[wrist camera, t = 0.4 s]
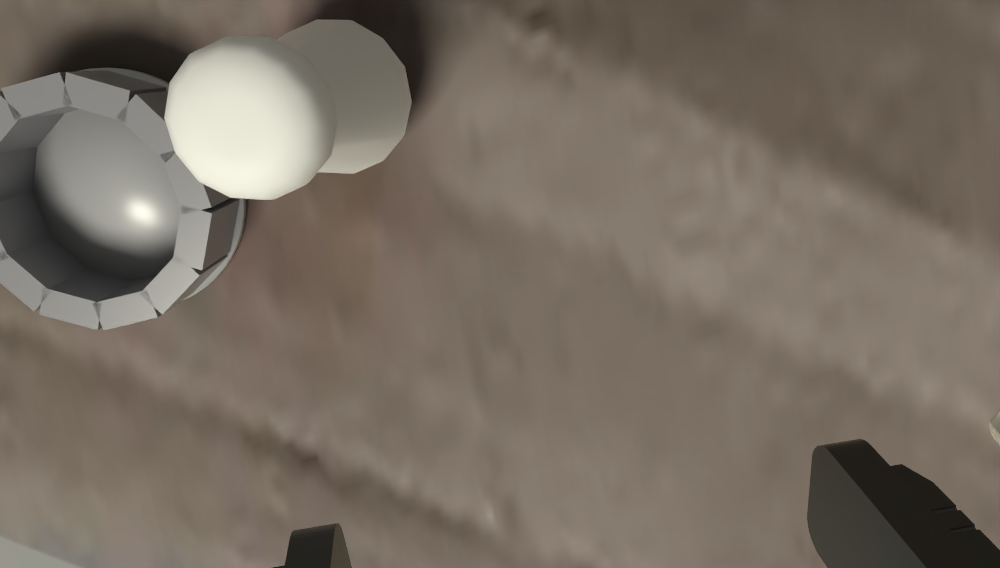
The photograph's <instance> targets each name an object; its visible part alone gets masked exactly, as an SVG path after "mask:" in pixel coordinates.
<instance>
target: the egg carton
mask: <svg viewBox="0 0 1000 568" xmlns="http://www.w3.org/2000/svg"><path fill="white" fill-rule="evenodd" d="M989 429H990V431H991V433H992V435H993V437H994V439H995V440H996V441H997V442H998V444H999V446H1000V411H999V412H998V414H997V416H996V417H995V418H994V419H992V420H991V421H990V423H989Z"/></svg>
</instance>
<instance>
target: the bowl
mask: <svg viewBox="0 0 1000 568" xmlns="http://www.w3.org/2000/svg"><path fill="white" fill-rule="evenodd" d="M1 89H2V91H0V283H1V284H2V285H3V286H5V287H6V288H7V289H8V290H9V291H11V292H12V293H13V294H14V295H15V296H16V297H18V298H19V299H20V300H21V301H22V302H24V303H25V304H26V305H27V306H28V307H29V308H31V309H32V310H33V311H36V310H38V309H40V315H44V316H47V317H51V318H55V319H59V320H62V321H66V322H70V323H73V324H77V325H81V326H84V327H88V328H92V329H96V330H99V329H100V328H103V330H107V329H111V328H115V327H119V326H124V325H128V324H132V323H136V322H140V321H144V320H149V319H153V318H157V317H159V316H160V315H163V314H164V313H166V312H167V311H168V310H170V309H171V308H172V307H174V306H175V305H177V304H178V303H179V302H181V301H183V300H185V299H187V298H189V297H191V296H193V295H195V294H196V293H198V292H199V291H201V290H202V289H204V288H205V287H206V286H208V285H209V284H210V283H211V282H212V281H214V280H215V279H216V278H217V277H218V276H219V275H220V274H221V273H222V271H223V270H224V269H225V268H226V267H227V265H228V264H229V262H230V261H231V259H232V257H233V256H234V254H235V252H236V250H237V248H238V245H239V243H240V241H241V238H242V234H243V230H244V226H245V219H246V210H247V206H246V199H244V198H230V197H228V196H226V195H224V194H222V193H220V192H218V191H216V190H214V189H212V188H210V187H208V186H206V185H204V184H202V183H200V182H199V181H198V180H197V179H196V178H195V177H194V175H193V174H192V173H191V172H190V170H189V169H188V168H187V167H186V166H185V164H184V163H183V162H182V161H181V159H180V158H179V157H178V156H177V155H176V153H175V151H174V147H173V144H172V141H171V138H170V135H169V131H168V128H167V125H166V122H165V119H164V116H165V110H166V103H167V96H168V90H169V82H167V81H165V80H163V79H161V78H158V77H155V76H152V75H150V74H147V73H144V72H139V71H135V70H130V69H122V68H92V69H85V70H80V71H75V72H58V73H55V74H51V75H47V76H44V77H40V78H37V79H33V80H29V81H26V82H22V83H19V84H15V85H11V86H8V87H4V88H1Z"/></svg>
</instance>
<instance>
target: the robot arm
mask: <svg viewBox="0 0 1000 568" xmlns="http://www.w3.org/2000/svg"><path fill="white" fill-rule="evenodd" d="M807 520H808V528H809V532H810V536H811V539H812V542H813V544H814V546H815V549H816V550H817V552H818V554H819V556H820V557H821V559H822V560H823V562H824V563H825V564H826V566H827V567H828V568H1000V550H999V549H998V548H997V547H996V546H995V545H994V544H993V543H992V542H991V541H990V540H989V539H988V538H987V537H986V536H985V535H984V534H983V533H982V532H981V531H980V530H976V529H975V525H974V524H973V523H972V522H971V520H970V519H969V518H968V517H967V516H966V515H965V514H964V513H963V512H962V511H961V510H959V511H958V510H957V509H956V505H955V504H954V503H953V502H952V501H951V500H950V499H949V498H948V497H947V496H946V495H945V494H944V493H943V492H942V491H941V490H940V489H939V488H938V487H937V486H936V485H935V484H934V483H933V482H932V481H930V480H928V479H926V478H925V477H923V476H921V475H919V474H918V473H916V472H914V471H912V470H911V469H909V468H907V467H905V466H904V465H902V464H900V465H894V466H890V465H889V464H888V463H887V462H886V461H885V460H884V459H883V458H882V457H881V456H880V455H879V454H878V453H877V451H876V450H875V449H874V448H873V447H872V446H871V445H870V444H869V443H868V442H866V441H865V440H862V439H857V440H851V441H845V442H839V443H833V444H827V445H821V446H817V447H816V448H815V449H814V451H813V455H812V465H811V477H810V489H809V501H808V513H807ZM274 568H352V567H351V563H350V559H349V555H348V551H347V547H346V543H345V539H344V535H343V532H342V529H341V526H340V525H339V524H338V523H337V524H331V525H325V526H318V527H312V528H306V529H300V530H294V531H293V532H292V533H291V536H290V541H289V546H288V551H287V556H286V562H285V566H280V567H274Z"/></svg>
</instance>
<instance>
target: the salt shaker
mask: <svg viewBox="0 0 1000 568" xmlns="http://www.w3.org/2000/svg"><path fill="white" fill-rule="evenodd" d="M411 104H412V100H411V95H410V90H409V85H408V80H407V75H406V69H405V66H404V65H403V64H402V62H401V61H400V60H399V58H398V57H397V56H396V55H395V53H394V52H393V51H392V49H391V48H390V47H389V45H388V44H387V43H386V41H385V40H384V39H383V38H382V37H380V36H378V35H377V34H375V33H373V32H371V31H370V30H368V29H366V28H365V27H363V26H361V25H359V24H358V23H356V22H354V21H353V20H321V19H317V20H315V21H312V22H310V23H308V24H306V25H303V26H301V27H299V28H297V29H294V30H292V31H290V32H288V33H286V34H284V35H283V36H281V37H280V38H278V39H277V40H276V39H274V38H271V37H267V36H241V35H229V36H227V37H225V38H222V39H220V40H218V41H216V42H214V43H212V44H209V45H207V46H205V47H203V48H201V49H199V50H196V51H194V52H192V53H190V54H189V55H188V57H187V58H186V59H185V61H184V62H183V64H182V65H181V67H180V68H179V70H178V71H177V73H176V74H175V75H174V77H173V78H172V80H171V81H170V83H169V90H168V96H167V103H166V110H165V116H164V119H165V122H166V125H167V128H168V131H169V135H170V138H171V141H172V144H173V147H174V151H175V153H176V155H177V156H178V157H179V158H180V159H181V161H182V162H183V163H184V164H185V166H186V167H187V168H188V169H189V170H190V172H191V173H192V174H193V175H194V177H195V178H196V179H197V180H198V181H199V182H200V183H202V184H204V185H206V186H208V187H210V188H212V189H214V190H216V191H218V192H220V193H222V194H224V195H226V196H228V197H230V198H244V199H260V200H273V199H276V198H278V197H281V196H283V195H285V194H287V193H289V192H292V191H294V190H296V189H298V188H300V187H303V186H305V185H306V184H307V183H309V182H310V181H311V180H312V178H313V177H314V176H315V175H316V174H317V172H327V173H349V174H354V173H357V172H359V171H361V170H363V169H366V168H368V167H370V166H372V165H375V164H377V163H379V162H381V161H383V160H384V159H385V158H386V157H387V156H388V154H389V153H390V152H391V151H392V150H393V148H394V147H395V146H396V145H397V144H398V142H399V141H400V140H401V139H402V138H403V136H404V135H405V131H406V126H407V122H408V117H409V113H410V108H411Z"/></svg>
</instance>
